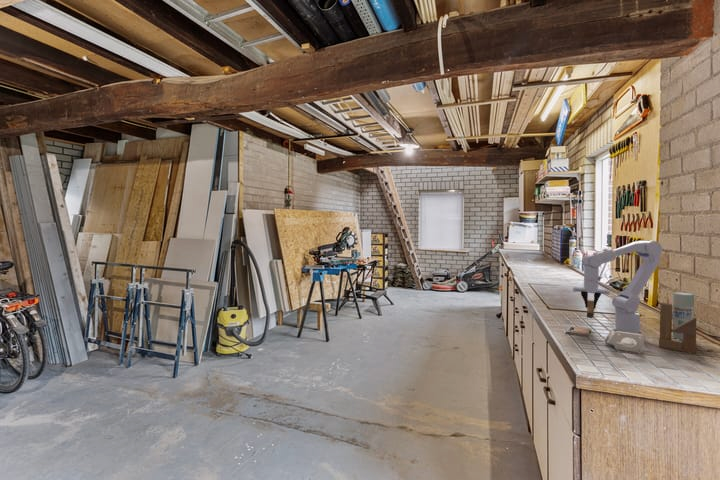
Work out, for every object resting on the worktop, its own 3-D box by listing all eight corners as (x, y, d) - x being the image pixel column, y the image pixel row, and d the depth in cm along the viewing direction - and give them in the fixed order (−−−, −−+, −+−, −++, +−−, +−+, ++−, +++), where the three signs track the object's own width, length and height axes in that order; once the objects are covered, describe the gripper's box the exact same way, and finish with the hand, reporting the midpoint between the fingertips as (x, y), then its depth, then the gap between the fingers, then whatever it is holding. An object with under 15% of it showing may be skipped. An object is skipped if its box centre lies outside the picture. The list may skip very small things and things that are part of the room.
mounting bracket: (604, 351, 140) (605, 330, 136) (604, 341, 144) (605, 320, 140) (642, 357, 133) (644, 335, 129) (640, 346, 137) (642, 325, 133)
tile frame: (591, 331, 159) (591, 329, 159) (588, 337, 151) (588, 335, 151) (569, 327, 165) (569, 325, 165) (565, 333, 156) (565, 331, 156)
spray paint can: (692, 338, 148) (693, 293, 147) (693, 342, 143) (694, 295, 142) (672, 335, 152) (673, 291, 151) (672, 339, 147) (673, 293, 147)
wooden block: (695, 353, 131) (697, 307, 130) (658, 347, 138) (659, 303, 137) (695, 351, 133) (696, 306, 133) (658, 344, 141) (660, 302, 140)
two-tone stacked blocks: (594, 315, 164) (594, 299, 164) (592, 318, 159) (593, 301, 159) (588, 315, 166) (588, 299, 166) (586, 317, 160) (586, 301, 160)
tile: (589, 333, 158) (589, 330, 158) (588, 336, 153) (588, 333, 153) (574, 331, 161) (574, 327, 161) (572, 334, 157) (572, 330, 157)
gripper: (572, 279, 163) (571, 307, 164) (609, 282, 154) (608, 311, 155) (574, 277, 169) (573, 304, 169) (610, 280, 160) (609, 308, 160)
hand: (590, 307), depth 162 cm, fingers closed on two-tone stacked blocks, 2 cm apart
